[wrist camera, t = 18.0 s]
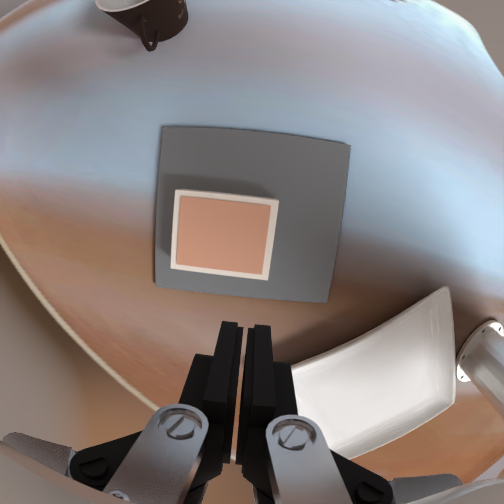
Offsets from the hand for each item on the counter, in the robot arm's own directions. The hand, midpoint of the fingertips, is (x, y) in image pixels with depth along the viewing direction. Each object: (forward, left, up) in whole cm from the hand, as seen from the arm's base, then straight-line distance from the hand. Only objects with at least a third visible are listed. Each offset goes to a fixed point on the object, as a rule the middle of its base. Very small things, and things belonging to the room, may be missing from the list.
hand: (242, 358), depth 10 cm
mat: (0, -2, -22) cm, 22 cm away
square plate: (-21, +21, -22) cm, 37 cm away
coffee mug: (+13, -24, -22) cm, 35 cm away
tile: (-2, 0, -20) cm, 20 cm away
